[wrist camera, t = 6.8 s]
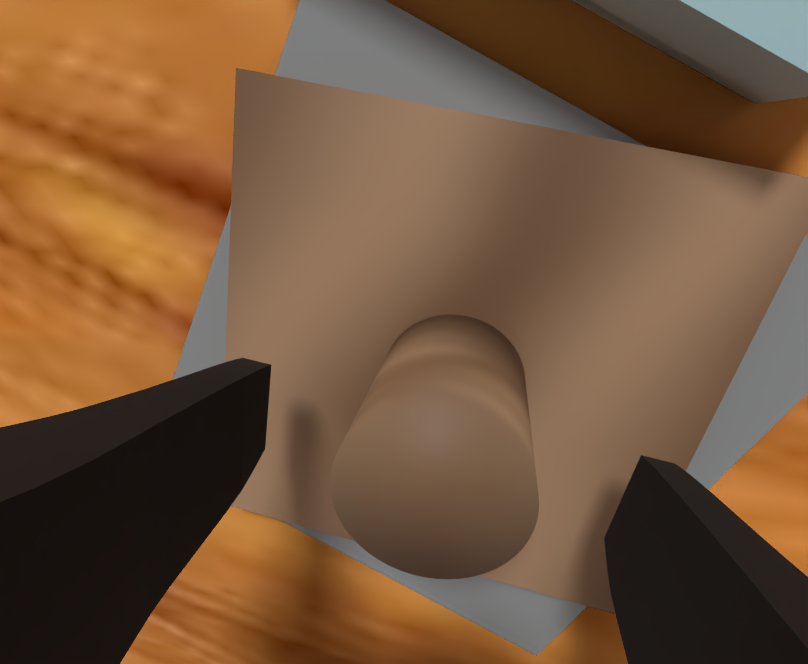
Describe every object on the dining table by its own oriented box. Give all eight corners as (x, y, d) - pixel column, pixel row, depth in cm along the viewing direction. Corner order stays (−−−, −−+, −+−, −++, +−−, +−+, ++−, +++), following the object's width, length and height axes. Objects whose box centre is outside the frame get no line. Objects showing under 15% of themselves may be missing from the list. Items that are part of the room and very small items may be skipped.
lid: (812, 179, 9) (1088, 215, 5) (609, 594, 13) (660, 805, 9) (250, 71, 10) (72, 23, 6) (230, 489, 14) (119, 634, 10)
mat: (895, 287, 10) (910, 294, 9) (535, 643, 15) (536, 655, 15) (320, -34, 10) (313, -40, 9) (157, 442, 15) (149, 450, 14)
